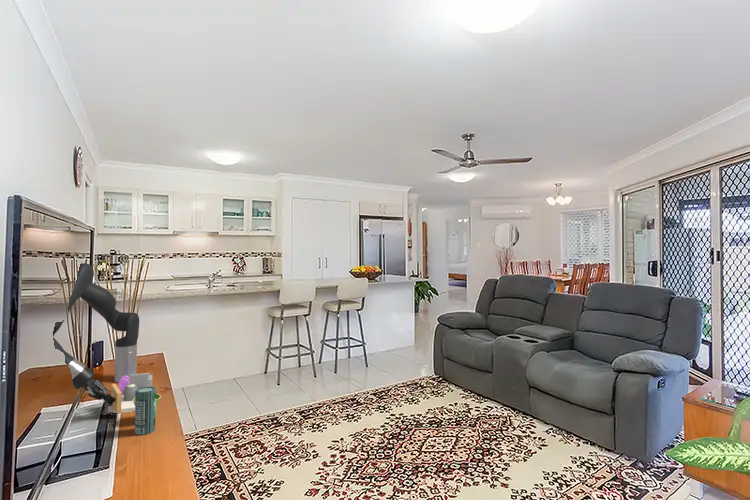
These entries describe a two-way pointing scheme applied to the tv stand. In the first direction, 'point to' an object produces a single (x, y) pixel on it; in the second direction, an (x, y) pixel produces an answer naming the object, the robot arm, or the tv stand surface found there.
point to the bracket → (123, 383)
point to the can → (145, 410)
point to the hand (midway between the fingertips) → (113, 402)
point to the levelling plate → (123, 406)
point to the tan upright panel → (116, 398)
